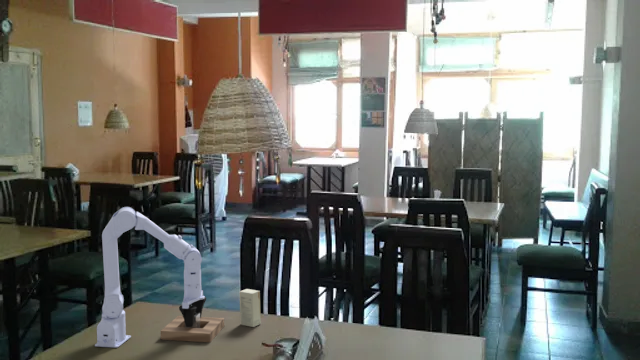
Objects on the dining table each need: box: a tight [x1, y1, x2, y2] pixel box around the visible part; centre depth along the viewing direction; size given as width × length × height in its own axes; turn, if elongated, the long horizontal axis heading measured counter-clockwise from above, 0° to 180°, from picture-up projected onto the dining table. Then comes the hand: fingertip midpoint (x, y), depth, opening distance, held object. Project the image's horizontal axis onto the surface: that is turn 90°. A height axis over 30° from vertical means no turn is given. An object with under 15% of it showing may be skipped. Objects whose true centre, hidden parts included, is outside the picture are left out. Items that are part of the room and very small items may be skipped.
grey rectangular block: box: [185, 312, 200, 328], centre depth 193 cm, size 4×4×6 cm
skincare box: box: [239, 288, 262, 328], centre depth 202 cm, size 6×4×12 cm
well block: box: [160, 315, 225, 343], centre depth 194 cm, size 15×17×3 cm
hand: (193, 322), depth 193 cm, fingers open, 7 cm apart
